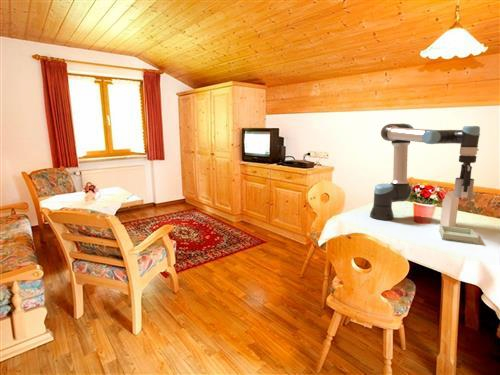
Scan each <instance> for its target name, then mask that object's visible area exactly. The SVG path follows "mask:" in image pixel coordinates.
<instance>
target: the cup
mask: <svg viewBox="0 0 500 375" xmlns="http://www.w3.org/2000/svg"><path fill="white" fill-rule="evenodd" d="M462 184H463V179H461V178H460V177H455V180H454V190H453V192H454V196H455V197H459V199H460V198H461V193H462ZM474 184H475V179H474V178H471V179H470V186H469V189H468V196H467V198H466V199H472V198H473V191H474ZM461 199H462V198H461Z"/></svg>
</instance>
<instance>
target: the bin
mask: <svg viewBox="0 0 500 375" xmlns="http://www.w3.org/2000/svg"><path fill="white" fill-rule="evenodd" d="M438 231H439V235H440V237H441V240H443V241H450V242H460V243H467V244H475V245H478V244H479V236H478V235H477V233H476V232H475V231H474V229H473V228H466V227H465V228H464V227H459V226H458V227H457V226H452V227H450V226H444V225H441V224H439V230H438Z"/></svg>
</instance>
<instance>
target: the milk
mask: <svg viewBox="0 0 500 375" xmlns="http://www.w3.org/2000/svg"><path fill="white" fill-rule="evenodd" d="M444 195H445V198H444V199H443V198H442V203H441V204H442V205H441V212H440V213H441V214H440V219H439V220H440V222H439V225H441V226H450V227H456V224H457V217H458V210H459V200H460V198H459V197H455V196H454V191H451V190H450V191H449V190H447V192H446V193H445V194H444Z"/></svg>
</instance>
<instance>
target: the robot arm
mask: <svg viewBox="0 0 500 375" xmlns="http://www.w3.org/2000/svg"><path fill="white" fill-rule="evenodd" d="M381 128H382V129H381V130H380V136H381V138H382V139H383V140H385V141H387V142H391V145H392V146H393V168H392V169H393V170H392V171H393V174H392V180H391V182H390V183H380V184H377V185H375V187H374V191H373V206H372V208H371V211H370V213H369V218H372V219H374V220H378V221H392V220H394V211H393V208H392V206H393V205H392V204H393V203H400V202H406V201H409V200H410V199H411V198H410V194H411V192H412V189H413V188H412V186H411V184H410V182H409V181H408V154H409V152H408V151H409V150H408V149H409V148H408V147H409V145H410V144H411V142H415V143H424V144H427V145H428V144H429V145H438V144H442V145H443V144H457V145H458V144H459V145H460V147H459V156H458V162H459V163H462V164H461V168H460V173H459V178H461V179H463V184H462V193H461V199H468V198H467V196H468V189H469V186H470V179H472V177H471V176H472V169H473V166H472V165H471V164H474V163H476V161H477V157H478V156H477V155H478V152H479V148H478V147H479V146H478V145H479V140H480V136H481V134H480V133H481V128H480V126H478V125H468V126H467V125H465V126H463V127H462V129H427V128H426V129H424V128H414V127H413V126H412V124H409V123H387V124H386V125H384V126H383V127H381Z"/></svg>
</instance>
